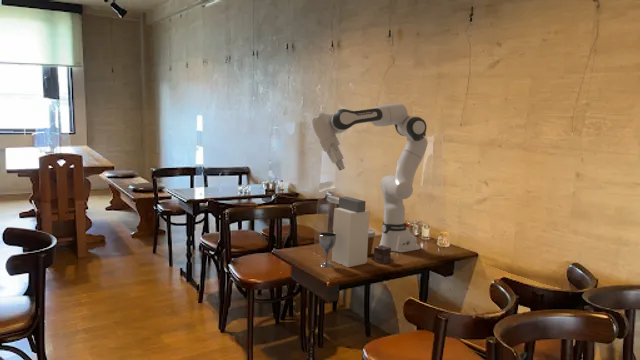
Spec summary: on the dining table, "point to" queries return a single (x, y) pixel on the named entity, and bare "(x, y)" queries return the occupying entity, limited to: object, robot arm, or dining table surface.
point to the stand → (350, 232)
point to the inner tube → (332, 199)
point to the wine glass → (327, 245)
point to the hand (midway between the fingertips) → (342, 169)
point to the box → (382, 254)
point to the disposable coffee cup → (370, 241)
